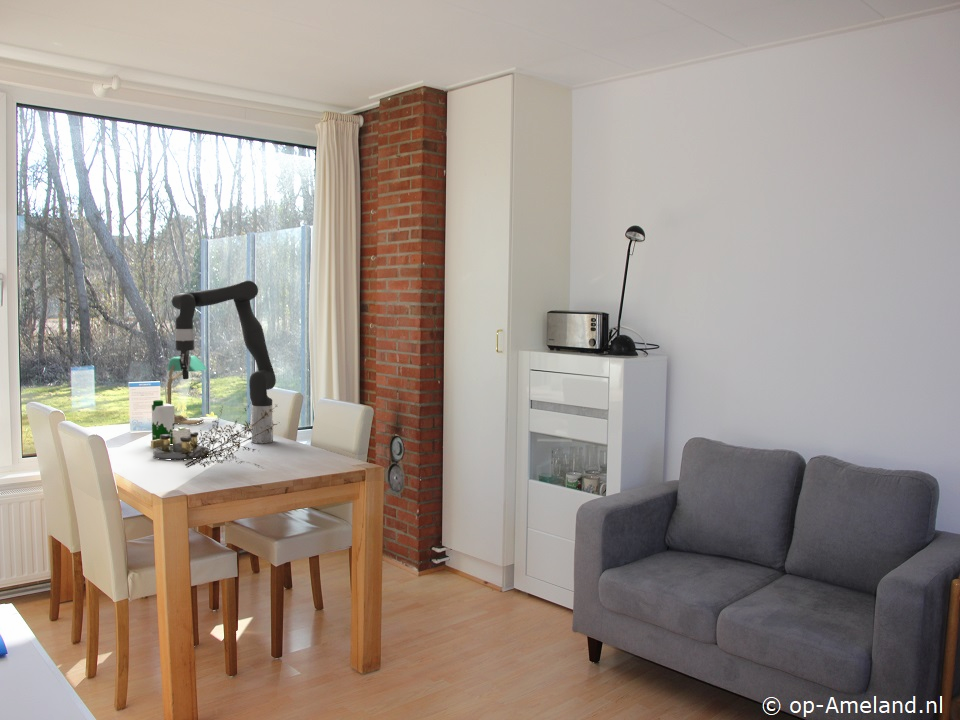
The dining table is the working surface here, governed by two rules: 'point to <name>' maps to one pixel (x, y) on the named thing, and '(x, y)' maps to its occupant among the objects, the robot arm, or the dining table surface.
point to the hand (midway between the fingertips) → (185, 379)
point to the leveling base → (177, 454)
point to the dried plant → (223, 443)
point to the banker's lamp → (175, 366)
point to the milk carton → (162, 419)
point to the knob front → (162, 442)
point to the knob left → (186, 444)
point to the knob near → (194, 435)
